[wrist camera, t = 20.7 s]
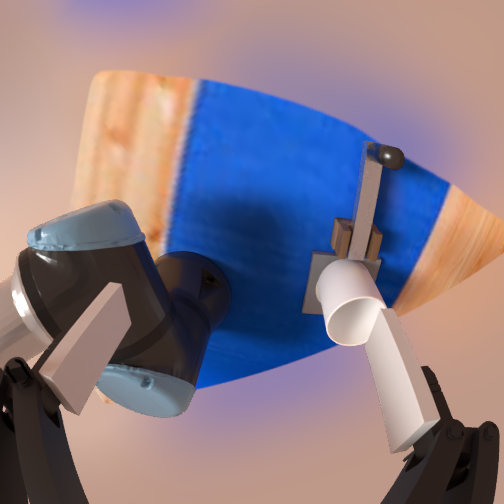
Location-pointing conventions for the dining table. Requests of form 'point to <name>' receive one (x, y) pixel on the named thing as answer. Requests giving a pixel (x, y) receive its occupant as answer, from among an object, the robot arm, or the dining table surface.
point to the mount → (343, 235)
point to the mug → (349, 301)
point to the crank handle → (369, 193)
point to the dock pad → (316, 267)
